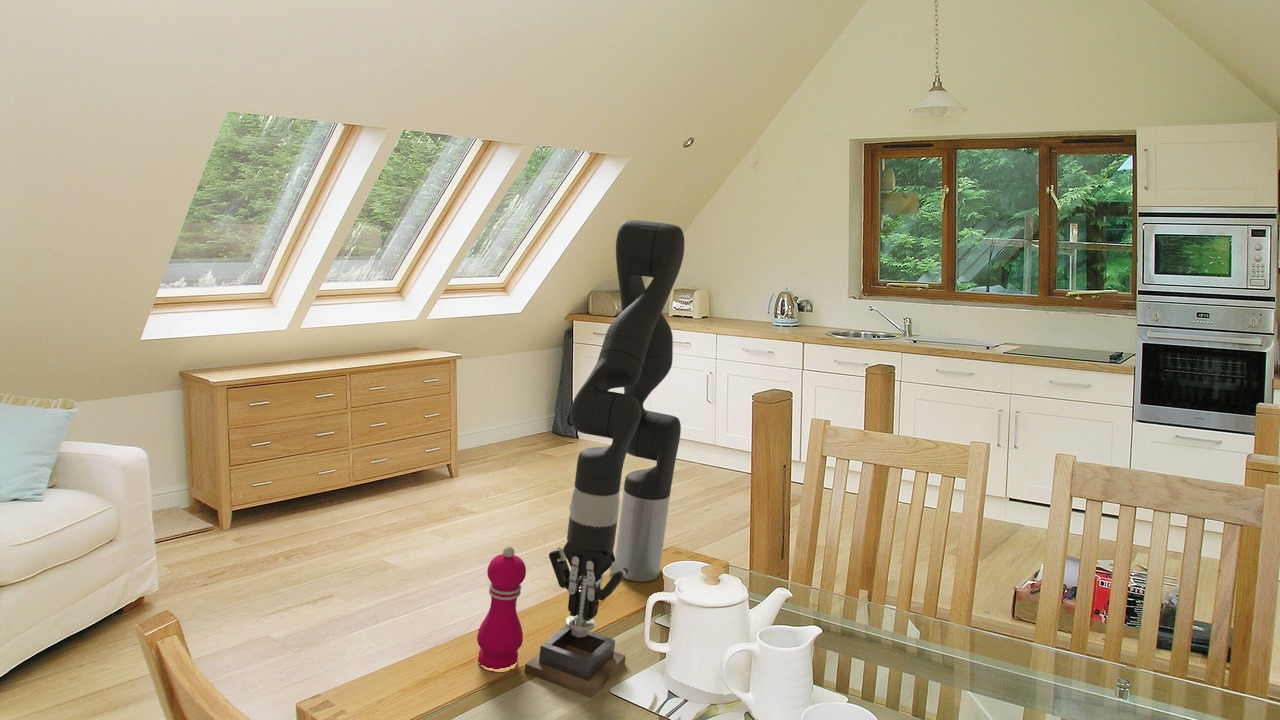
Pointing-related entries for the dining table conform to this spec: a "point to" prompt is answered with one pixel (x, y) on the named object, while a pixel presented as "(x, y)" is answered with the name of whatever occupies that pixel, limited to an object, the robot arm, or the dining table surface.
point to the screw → (581, 614)
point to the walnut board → (572, 681)
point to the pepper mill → (502, 612)
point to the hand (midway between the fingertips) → (581, 616)
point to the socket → (572, 662)
